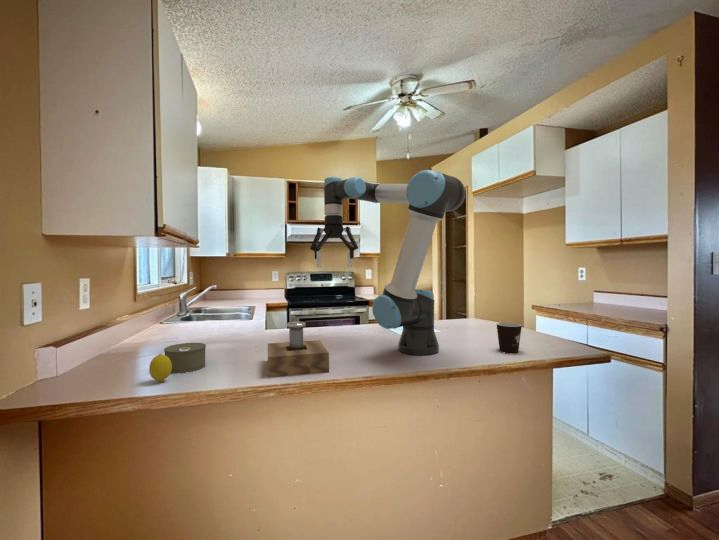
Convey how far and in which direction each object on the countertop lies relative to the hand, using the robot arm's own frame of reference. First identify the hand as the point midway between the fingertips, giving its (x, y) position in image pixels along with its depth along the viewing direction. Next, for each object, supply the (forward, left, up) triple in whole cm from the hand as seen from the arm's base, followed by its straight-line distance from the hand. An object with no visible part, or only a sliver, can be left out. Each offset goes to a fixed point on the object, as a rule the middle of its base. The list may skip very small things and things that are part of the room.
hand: (334, 267), depth 147 cm
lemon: (+32, +58, -32) cm, 73 cm away
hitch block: (+1, +35, -32) cm, 47 cm away
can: (+35, +45, -32) cm, 65 cm away
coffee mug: (-69, -2, -32) cm, 76 cm away
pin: (+1, +35, -32) cm, 47 cm away
